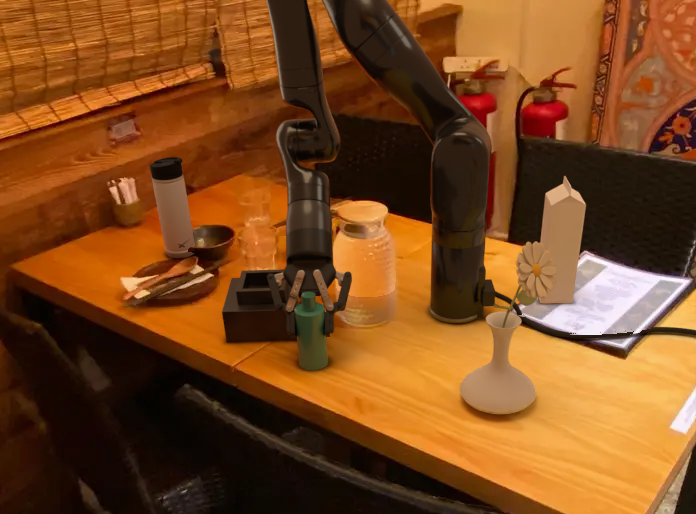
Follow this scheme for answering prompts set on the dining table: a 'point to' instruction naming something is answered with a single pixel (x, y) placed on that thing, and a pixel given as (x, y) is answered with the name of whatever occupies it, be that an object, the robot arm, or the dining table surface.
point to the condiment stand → (255, 309)
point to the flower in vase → (499, 375)
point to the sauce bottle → (311, 333)
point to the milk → (563, 239)
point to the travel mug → (172, 206)
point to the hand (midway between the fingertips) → (310, 336)
